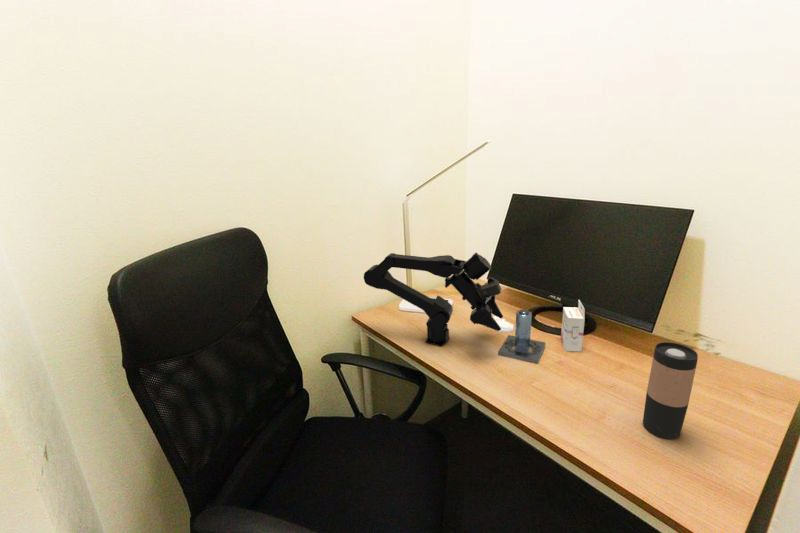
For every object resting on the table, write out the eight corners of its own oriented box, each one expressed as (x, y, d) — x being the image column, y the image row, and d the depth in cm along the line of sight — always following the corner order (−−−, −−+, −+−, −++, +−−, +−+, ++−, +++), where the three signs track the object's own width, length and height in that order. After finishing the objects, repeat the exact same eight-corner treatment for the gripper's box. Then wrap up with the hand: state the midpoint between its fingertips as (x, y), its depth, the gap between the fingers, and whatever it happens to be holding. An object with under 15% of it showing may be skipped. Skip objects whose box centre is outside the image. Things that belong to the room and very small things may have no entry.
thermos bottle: (517, 354, 119) (519, 315, 115) (512, 347, 123) (514, 309, 119) (531, 353, 119) (534, 314, 115) (526, 345, 123) (528, 307, 119)
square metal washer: (498, 354, 119) (498, 351, 119) (508, 338, 129) (508, 335, 129) (537, 363, 113) (537, 360, 113) (545, 345, 123) (545, 342, 123)
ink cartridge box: (559, 338, 127) (563, 297, 123) (575, 339, 126) (579, 298, 122) (565, 351, 119) (569, 308, 115) (581, 352, 118) (586, 309, 114)
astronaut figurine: (498, 317, 145) (498, 310, 144) (518, 330, 134) (519, 323, 134) (479, 322, 142) (479, 315, 141) (498, 336, 131) (498, 328, 131)
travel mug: (633, 418, 89) (646, 343, 83) (664, 415, 90) (679, 340, 84) (657, 442, 82) (673, 361, 76) (690, 438, 83) (708, 358, 77)
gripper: (482, 282, 109) (520, 322, 109) (489, 263, 125) (521, 298, 125) (455, 305, 114) (490, 342, 114) (465, 284, 130) (496, 316, 130)
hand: (500, 323), depth 121 cm, fingers open, 9 cm apart
